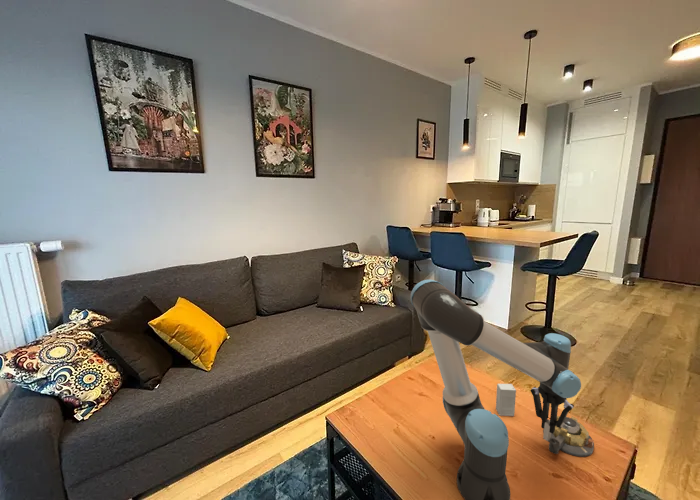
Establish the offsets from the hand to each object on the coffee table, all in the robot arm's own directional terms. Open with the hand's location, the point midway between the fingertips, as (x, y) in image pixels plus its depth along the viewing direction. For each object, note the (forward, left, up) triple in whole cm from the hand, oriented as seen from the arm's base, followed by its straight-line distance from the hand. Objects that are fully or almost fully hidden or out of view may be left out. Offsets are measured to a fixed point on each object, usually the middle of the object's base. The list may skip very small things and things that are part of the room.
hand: (546, 438), depth 108 cm
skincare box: (+5, +18, -4) cm, 19 cm away
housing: (+9, -3, -3) cm, 10 cm away
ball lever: (+5, -3, -1) cm, 6 cm away
